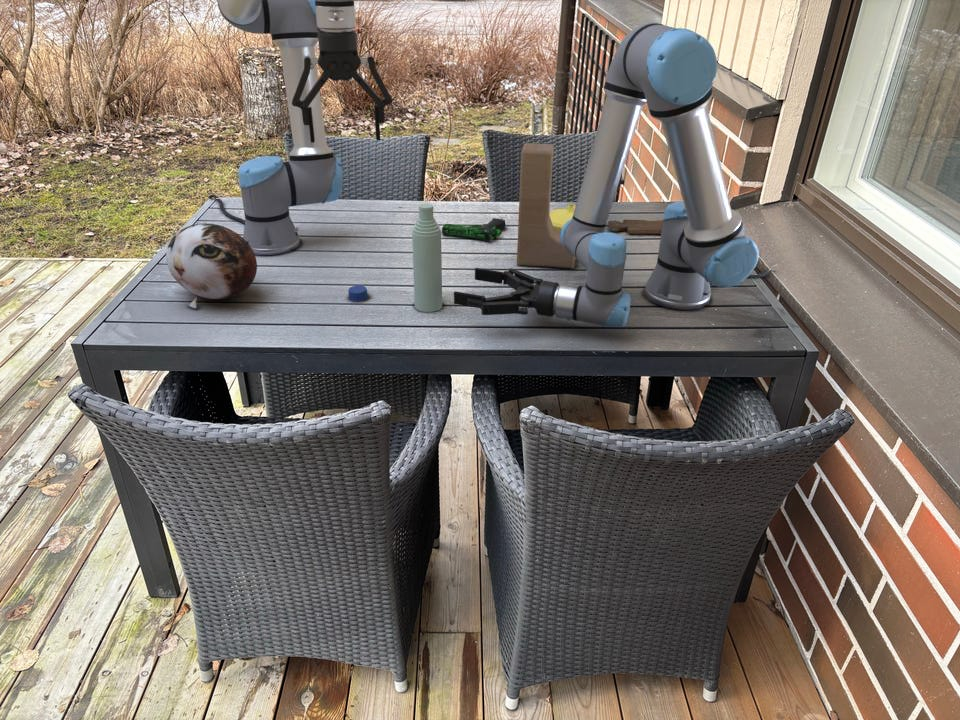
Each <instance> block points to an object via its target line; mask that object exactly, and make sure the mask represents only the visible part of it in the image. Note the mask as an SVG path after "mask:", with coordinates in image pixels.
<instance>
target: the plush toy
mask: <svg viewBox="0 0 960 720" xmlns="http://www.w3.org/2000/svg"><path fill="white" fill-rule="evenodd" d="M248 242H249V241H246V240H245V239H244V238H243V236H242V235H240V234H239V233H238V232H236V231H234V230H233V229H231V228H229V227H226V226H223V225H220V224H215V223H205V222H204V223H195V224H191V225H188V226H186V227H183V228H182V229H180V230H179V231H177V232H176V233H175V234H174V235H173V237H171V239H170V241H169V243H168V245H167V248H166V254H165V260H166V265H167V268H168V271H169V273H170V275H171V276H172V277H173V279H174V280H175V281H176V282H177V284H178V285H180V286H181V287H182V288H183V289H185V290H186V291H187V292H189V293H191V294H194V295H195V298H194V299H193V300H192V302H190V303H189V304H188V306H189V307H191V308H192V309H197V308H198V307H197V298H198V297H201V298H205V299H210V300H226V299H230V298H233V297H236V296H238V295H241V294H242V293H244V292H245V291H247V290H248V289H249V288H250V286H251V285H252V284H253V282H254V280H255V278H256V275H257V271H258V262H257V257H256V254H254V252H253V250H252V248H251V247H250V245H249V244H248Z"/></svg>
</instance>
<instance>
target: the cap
mask: <svg viewBox="0 0 960 720" xmlns="http://www.w3.org/2000/svg"><path fill="white" fill-rule="evenodd" d="M368 296H369V295H368V289H367V287H366V286H365V285H361V284H360V285H352V286H350V287H349V288H348V298H349V300H350V301H352V302H364V301H365V300H367V299H368Z"/></svg>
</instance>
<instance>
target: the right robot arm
mask: <svg viewBox="0 0 960 720" xmlns="http://www.w3.org/2000/svg"><path fill="white" fill-rule="evenodd" d="M717 73H718V60H717V54H716V52H715V49H714V47H713V46H712V44H711V43H710V41H709V40H708V39H706V38H705V37H704V36H703V35H701V34H698V33H697V32H695V31H694V30H691V29H688V28H683V27H682V28H681V27H672V26H669V25H665V24H663V23H659V22H648V23H643V24H640V25H639V26H636V27H634V28H633V29H632V30H630V31H629V32H628V33H627V34H626V35H625V36H624V38H622V40H621V41H620V43H619V45H618V46H617V48H616V50H615V52H614V55H613V57H612V60H611V62H610V65H609V68H608V71H607V74H606V78H605V82H604V86H603V88H602V90H603V92H604V94H605V101H604V104H603V108H602V110H601V114H600V117H599V122H598V126H597V129H596V133H595V136H594V139H593V143H592V147H591V151H590V154H589V157H588V161H587V165H586V168H585V172H584V175H583V179H582V181H581V185H580V190H579V194H578V197H577V200H576V202H575V210H574V214H573V217H572V219H570V220H569V221H567V222H566V224H565V225H564V226H563V227H562V229H561V233H560V238H561V242H562V244H563V245H564V246H565V248H566V250H567V251H568V252H569V253H570V254H571V255H573V256H574V257H575V260H576V261H577V262H578V263H579V264H580V265H581V266H582V267H583V268H584V270H586V277H585V278H586V279H585V286H583V285H577V284H571V283H564V282H561V283H559V282H557V281H549V280H544V279H542V278H538V277H534V276H533V275H529V274H527V273H524V272H522V271H519V270H517V269H515V268H512V267H511V268H508V270H504V271H500V270H493V269H488V268H487V269H485V268H481V267H480V268H479V267H475V268H474V281H481V282H486V283H491V284H492V283H493V284H498V285H499V284H500V285H503V286H506V285H507V286H509V287H510V288H512V290H514V291H511V292H510V293H509V294H502V295H496V296H491V297H485V295H479V294H475V293H474V294H473V293H468V292H461V291H454V292H453V305H457V306H463V307H469V308H476V309H480V311H481V315H482V316H495V315H523V316H524V315H525V316H526V315H528V313H529V309H531V308H532V309H535V311H536V314H537V315H539V316H543V317H544V316H545V317H550V318H552V317H554V316H555V317H556V318H559V319H565V320H567V321H577V322H581V323H587V324H593V325H599V326H602V327H609V328H610V327H611V328H623V327H624V326H625V325H626V324H627V322H628V318H629V314H630V309H631V299H632V298H631V295H630V293H627V292H625V291H623V280H624V273H625V266H626V262H627V240H626V238H625V237H624V236H622V235H620V234H617V233H615V232H607V231H606V232H605V230H606V227H607V224H608V221H609V220H608V219H609V216H610V213H611V210H612V207H613V204H614V200H615V197H616V193H617V190H618V187H619V184H620V180H621V177H622V174H623V171H624V168H625V165H626V162H627V158H628V155H629V151H630V149H631V145H632V142H633V139H634V136H635V133H636V129H637V126H638V123H639V120H640V116H641V113H642V110H643V107H644V106H645V105H647V108H648V111H649V116H650V117H651V118H653V119H655V120H657V121H660V124H661V127H662V130H663V133H664V137H665V142H666V144H667V148H668V151H669V155H670V159H671V161H672V166H673V170H674V173H675V177H676V180H677V183H678V188H679V191H680V195H681V198H682V200H681V201H675V202H674V201H673V202H671V203H669V204H668V205H667V206H666V207H665V210H664V214H663V216H662V220H663V225H662V232H661V234H660V240H659V245H658V252H657V261H656V265H655V266H654V268H653V270H652V272H651V274H650V275H649V278H648V279H647V282H646V284H645V287H644V295H645V297H646V298H647V300H649V301H650V302H652V303H654V304H655V305H658V306H659V307H663V308H667V309H672V310H678V311H693V310H698V309H701V308H705V307H706V306H707V305H708V304H709V303H710V299H711V295H712V293H711V286H713V285H714V287H717V288H722V289H724V288H726V289H727V288H732V287H735V286H737V285H739V284H741V283H743V282H744V281H745V280H746V279H747V278H763V277H766V276H767V275H768V274H769V273H768V272H767V271H766V270H764V271H763V272H759V273H756V274H757V275H750V274H751V273H753V270H754V269H755V268H756V267H757V264H758V262H759V258H760V250H759V247H758V245H757V244H756V243H755V241H754V240H753V239H752V238H750V237H747V235H746V232H745V228H744V224H743V219H742V216H741V213H740V212H739V211H736V210H734V209H732V206H731V203H730V198H729V194H728V190H727V186H726V181H725V177H724V173H723V169H722V165H721V160H720V156H719V152H718V147H717V144H716V139H715V136H714V135H715V134H714V131H713V126H712V123H711V118H710V114H709V110H708V104H709V102H710V100H711V99H712V98H713V96H714V93H713V88H712V87H713V85H714V83H713V82H714V80H715V78H716V77H717Z"/></svg>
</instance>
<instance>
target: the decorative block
mask: <svg viewBox="0 0 960 720" xmlns="http://www.w3.org/2000/svg"><path fill="white" fill-rule="evenodd" d="M554 149H555V147H554V145H553V144H551V143H533V142H526V143H524V144H523V146H522V149H521V154H520V174H519V175H520V176H519V178H520V179H519V199H518V218H517V219H518V220H517V224H518V225H517V244H516V248H517V249H516V265H518V266H530V267H543V268H559V269H560V268H561V269H574V267H575V262H576V261H575V260H576V258H575V257H574V256H573V255H571V254H570V253H569V252H568V251H567V250H566V248H565V246H564V245H563V244H562V242H561V238H560V233H561V232H560V231H559V230H557V229H556V228H555V227H553V225H552V222H551V218H550V215H549V212H550V211H551V209H550V208H551V198H552V197H551V193H552V178H553V167H554V165H553V164H554Z"/></svg>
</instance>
